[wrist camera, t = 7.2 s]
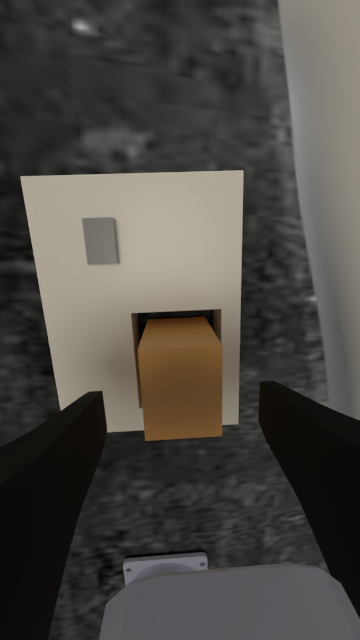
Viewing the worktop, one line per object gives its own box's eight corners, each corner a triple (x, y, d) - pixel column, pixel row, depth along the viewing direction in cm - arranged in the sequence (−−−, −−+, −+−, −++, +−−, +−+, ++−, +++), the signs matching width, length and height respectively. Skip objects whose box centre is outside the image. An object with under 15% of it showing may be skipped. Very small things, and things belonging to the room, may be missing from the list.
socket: (228, 400, 20) (241, 431, 17) (80, 409, 20) (60, 443, 16) (230, 185, 17) (247, 165, 13) (46, 191, 16) (11, 171, 12)
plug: (203, 375, 20) (222, 436, 13) (153, 377, 20) (145, 441, 13) (202, 313, 19) (222, 345, 12) (149, 316, 18) (137, 349, 12)
